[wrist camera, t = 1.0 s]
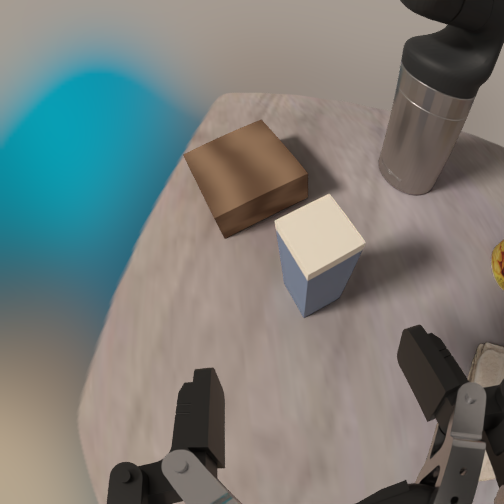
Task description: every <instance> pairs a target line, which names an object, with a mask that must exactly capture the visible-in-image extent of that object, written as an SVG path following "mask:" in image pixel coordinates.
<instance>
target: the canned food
mask: <svg viewBox="0 0 504 504" xmlns="http://www.w3.org/2000/svg"><path fill="white" fill-rule="evenodd" d="M491 269H492V273H493V276H494V279H495V281H496V283H497V284H498V286H499V287H500V288H501V290H503V291H504V240H502V241H501V242H500V243H499V244H498V245H497V246H496V247H495V248H494V250H493V251H492V255H491Z"/></svg>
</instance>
